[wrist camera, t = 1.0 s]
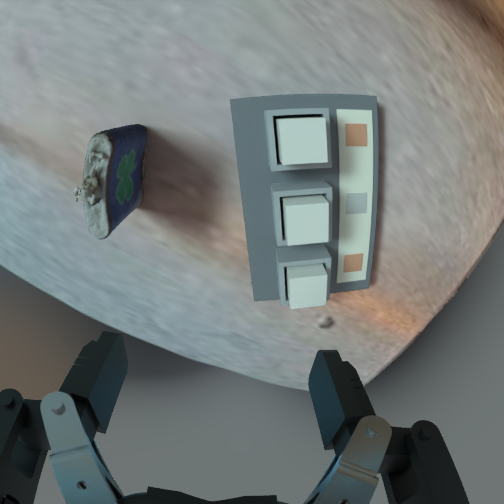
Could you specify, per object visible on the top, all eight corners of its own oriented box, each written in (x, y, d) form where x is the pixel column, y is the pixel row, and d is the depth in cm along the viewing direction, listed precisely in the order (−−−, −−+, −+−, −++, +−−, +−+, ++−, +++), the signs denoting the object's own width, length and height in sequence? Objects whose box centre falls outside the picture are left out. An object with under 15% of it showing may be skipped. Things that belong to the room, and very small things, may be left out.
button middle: (281, 195, 26) (285, 206, 23) (320, 192, 25) (328, 202, 23) (283, 231, 27) (287, 245, 25) (320, 228, 27) (328, 241, 24)
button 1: (285, 262, 29) (289, 278, 26) (320, 259, 29) (327, 274, 26) (287, 291, 30) (290, 309, 28) (319, 288, 30) (325, 305, 28)
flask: (143, 207, 30) (101, 252, 20) (120, 204, 29) (71, 246, 20) (151, 124, 26) (102, 133, 16) (126, 122, 25) (69, 132, 16)
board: (231, 100, 25) (227, 97, 20) (368, 96, 24) (390, 95, 20) (253, 291, 35) (254, 318, 30) (363, 279, 34) (377, 303, 30)
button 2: (275, 118, 22) (278, 119, 20) (316, 117, 22) (325, 117, 20) (278, 159, 24) (282, 164, 21) (318, 156, 24) (327, 162, 21)
